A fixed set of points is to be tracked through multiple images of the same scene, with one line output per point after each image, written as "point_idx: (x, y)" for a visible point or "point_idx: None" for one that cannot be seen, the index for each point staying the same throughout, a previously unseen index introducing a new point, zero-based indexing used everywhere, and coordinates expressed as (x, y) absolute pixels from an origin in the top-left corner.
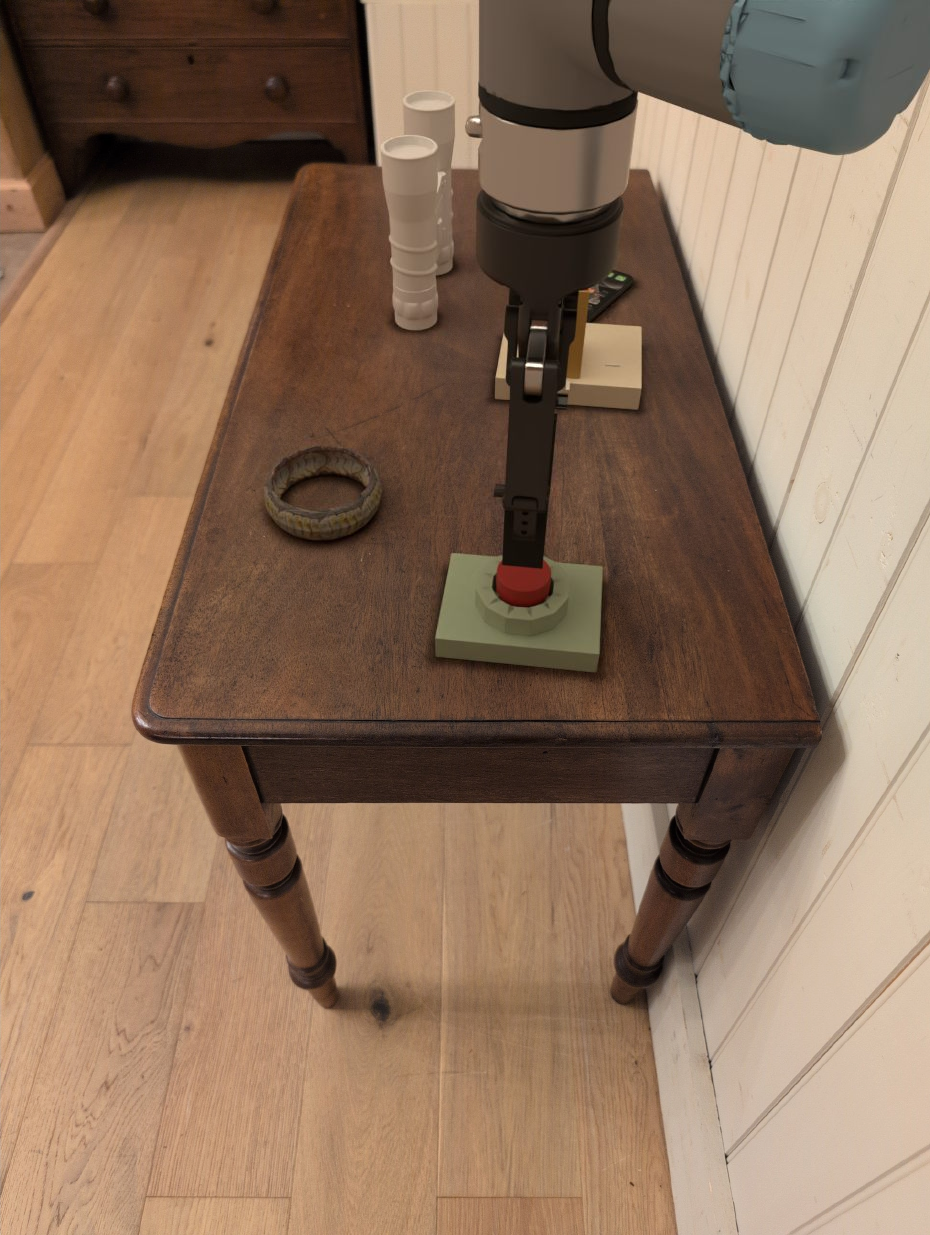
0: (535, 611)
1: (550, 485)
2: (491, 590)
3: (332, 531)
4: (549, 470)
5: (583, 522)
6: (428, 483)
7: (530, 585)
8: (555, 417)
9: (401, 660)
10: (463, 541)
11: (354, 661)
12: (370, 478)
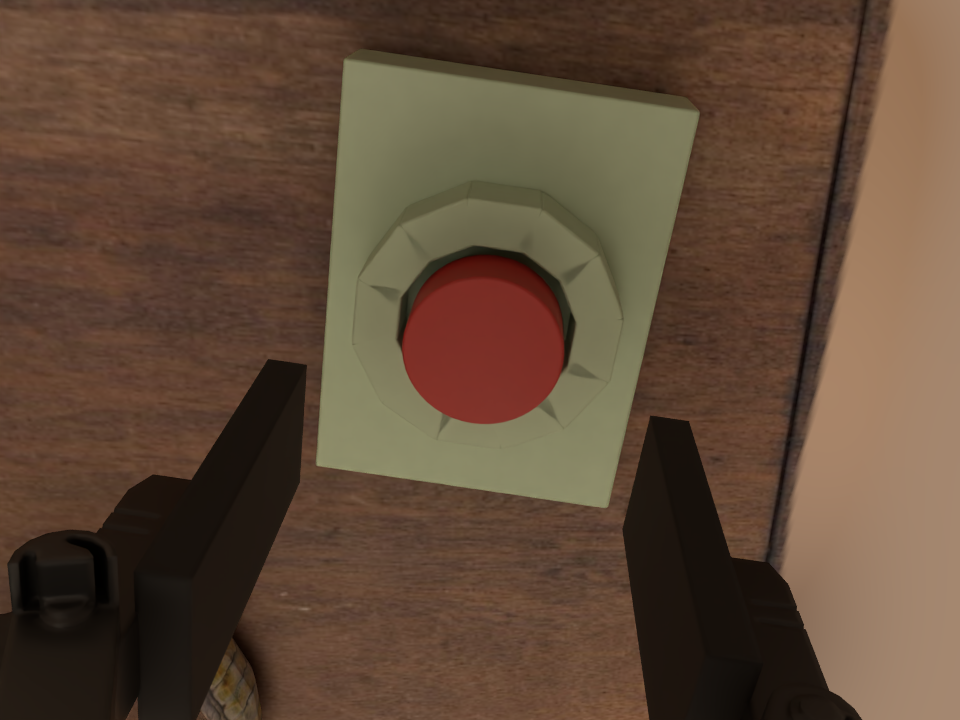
0: (590, 306)
1: (295, 385)
2: None
3: (252, 690)
4: (276, 429)
5: (94, 68)
6: (14, 474)
7: (540, 340)
8: (166, 581)
9: (606, 535)
10: (218, 400)
11: (602, 616)
12: None
